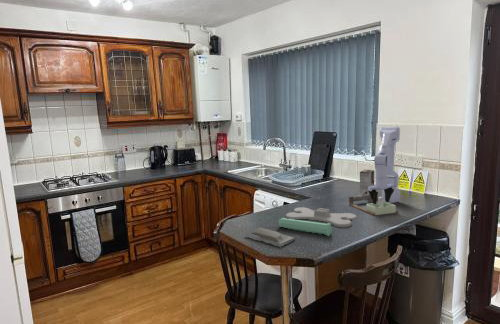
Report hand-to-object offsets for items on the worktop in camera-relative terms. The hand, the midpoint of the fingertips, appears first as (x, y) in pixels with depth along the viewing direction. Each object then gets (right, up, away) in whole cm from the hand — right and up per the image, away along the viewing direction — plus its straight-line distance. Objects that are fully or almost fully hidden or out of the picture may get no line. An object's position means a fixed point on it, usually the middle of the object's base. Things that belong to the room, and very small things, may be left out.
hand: (380, 202), depth 175 cm
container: (-44, -11, -20) cm, 49 cm away
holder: (-32, -8, -2) cm, 33 cm away
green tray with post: (0, -5, +1) cm, 5 cm away
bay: (-2, -5, +8) cm, 10 cm away
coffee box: (+6, 0, +37) cm, 37 cm away
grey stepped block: (-60, -13, -28) cm, 67 cm away
